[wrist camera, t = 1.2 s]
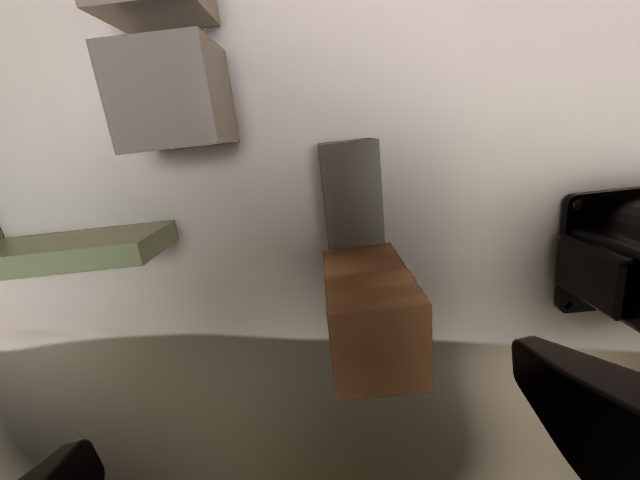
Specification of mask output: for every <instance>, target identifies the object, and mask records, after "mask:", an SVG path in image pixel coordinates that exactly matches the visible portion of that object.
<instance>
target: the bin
mask: <svg viewBox="0 0 640 480" xmlns="http://www.w3.org/2000/svg"><path fill="white" fill-rule="evenodd" d="M177 239H178V235H177V231H176V226H175V222H174V220H170V221H161V222H151V223H142V224H133V225H123V226H114V227H104V228H95V229H85V230H76V231H66V232H57V233H48V234H38V235H29V236H19V237H10V238H3V235H2V232H1V230H0V280H10V279H20V278H29V277H39V276H49V275H59V274H68V273H78V272H88V271H97V270H107V269H117V268H126V267H136V266H143V265H145V264H146V263H147V262H148V261H150V260H151V259H152V258H154V257H155V256H156V255H158V254H159V253H160V252H162V251H163V250H164V249H165V248H167V247H168V246H169V245H171V244H172V243H173V242H175V241H176V240H177Z"/></svg>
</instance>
